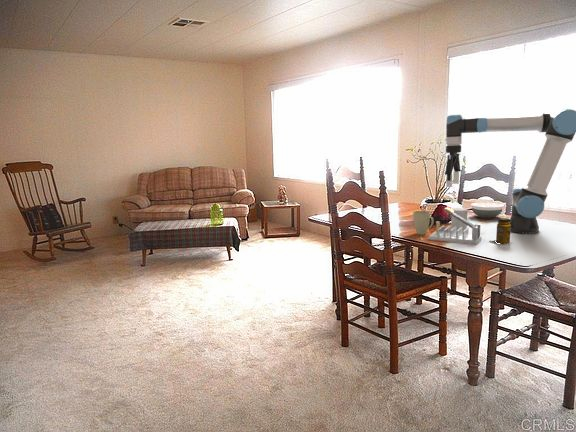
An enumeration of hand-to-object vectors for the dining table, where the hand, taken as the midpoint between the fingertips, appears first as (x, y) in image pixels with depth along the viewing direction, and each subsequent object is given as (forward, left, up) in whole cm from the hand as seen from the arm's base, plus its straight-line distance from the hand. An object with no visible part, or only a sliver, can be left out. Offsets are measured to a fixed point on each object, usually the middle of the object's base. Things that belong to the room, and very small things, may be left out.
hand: (452, 185), depth 221 cm
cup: (-2, -9, -27) cm, 28 cm away
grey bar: (-7, +12, -17) cm, 22 cm away
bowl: (-9, -51, -27) cm, 58 cm away
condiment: (-26, +9, -27) cm, 38 cm away
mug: (+13, +7, -27) cm, 31 cm away
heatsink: (-5, +12, -26) cm, 30 cm away
